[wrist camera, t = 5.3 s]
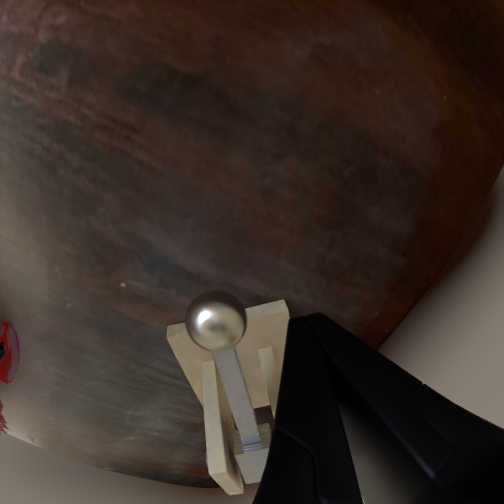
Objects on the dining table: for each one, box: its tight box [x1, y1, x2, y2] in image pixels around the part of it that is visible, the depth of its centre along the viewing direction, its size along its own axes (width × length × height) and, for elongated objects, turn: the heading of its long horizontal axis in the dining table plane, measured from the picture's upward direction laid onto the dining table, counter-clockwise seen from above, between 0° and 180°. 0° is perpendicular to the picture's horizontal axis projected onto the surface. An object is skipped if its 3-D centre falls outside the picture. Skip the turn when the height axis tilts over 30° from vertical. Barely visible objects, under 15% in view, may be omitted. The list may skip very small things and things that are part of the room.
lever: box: [185, 290, 272, 484], centre depth 16 cm, size 12×3×3 cm, turn 11°
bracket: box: [167, 299, 290, 495], centre depth 19 cm, size 10×8×10 cm
